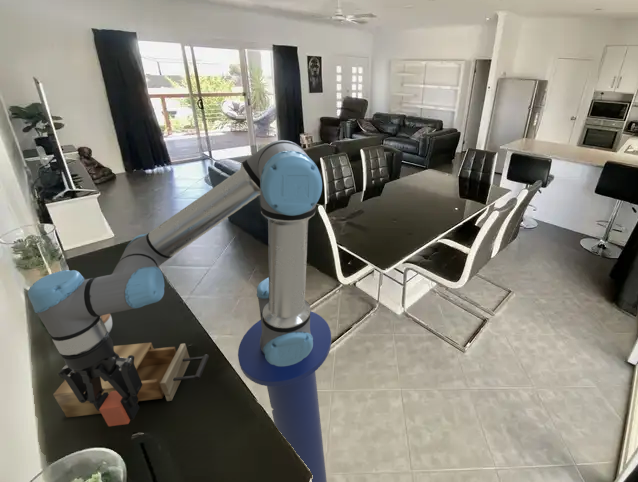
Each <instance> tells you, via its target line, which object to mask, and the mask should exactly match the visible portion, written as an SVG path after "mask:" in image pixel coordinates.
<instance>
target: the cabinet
mask: <svg viewBox="0 0 638 482" xmlns="http://www.w3.org/2000/svg"><path fill="white" fill-rule="evenodd" d="M149 349H155V348H154V345H153V343H152V342H143V343H142V342H141V343H132V344H120V345H114V352H115V353H117V354H118V355H119V357H121V358H128V356H129V355H132V356H134V365H135V367H136V370H137V368H138V366H139V365H140V363H141V362H142V360H143V358H144V357H145V355H146V354H147V352H148V350H149ZM100 379H101V385H102V388H105V390H104V389H103V390H104V391H103V393H105V392H108V394H109V393H110V392H111V391H116V390H115V389H114V388H113V386H112V385H111V384H110V383H109V382H108V381H104V380H103V379H102V378H101V377H100ZM84 393H85V392H84ZM103 393H102V395H103ZM52 395H53V397H54V398H55V401H56V402H57V404H58V405H59V408H61V410H62V412H63V413H64V416H65V417H66V418H75V417H83V416H91V415H100V414H101V412H100V411H98V410H96V408H95V406H94V404H92V403H90V402H89V401H86V402H85V403H81V402H79V400H78V399H77V397H76V395H75V394H74V392H73V391H72V389H71V388H70V386H69V385H68V383H67V382H66V380H65V379H64V380H63V381H62V383H61V384H60V385H59V387H58V388H57V389H56V390H55V391H54V393H53V394H52ZM139 402H140V401H137V403H138V404H139ZM101 415H102V414H101Z"/></svg>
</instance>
